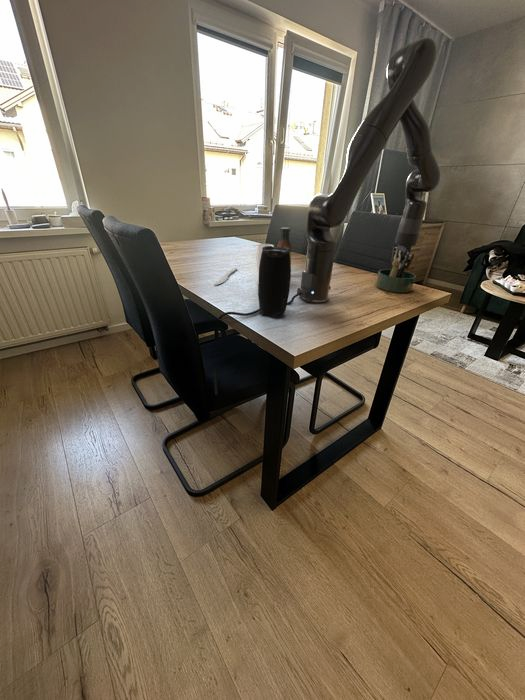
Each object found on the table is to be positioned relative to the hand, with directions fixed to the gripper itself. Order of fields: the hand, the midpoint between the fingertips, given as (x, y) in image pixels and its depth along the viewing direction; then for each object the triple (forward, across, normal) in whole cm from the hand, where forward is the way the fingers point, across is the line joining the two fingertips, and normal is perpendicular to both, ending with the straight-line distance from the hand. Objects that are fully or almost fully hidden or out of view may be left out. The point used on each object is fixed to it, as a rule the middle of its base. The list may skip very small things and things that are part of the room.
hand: (396, 276), depth 114 cm
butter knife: (+5, -7, -70) cm, 70 cm away
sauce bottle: (+5, -12, -45) cm, 47 cm away
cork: (+4, 0, 0) cm, 4 cm away
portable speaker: (+5, +32, -51) cm, 60 cm away
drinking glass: (+5, +1, -54) cm, 54 cm away
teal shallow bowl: (+5, 0, 0) cm, 5 cm away
